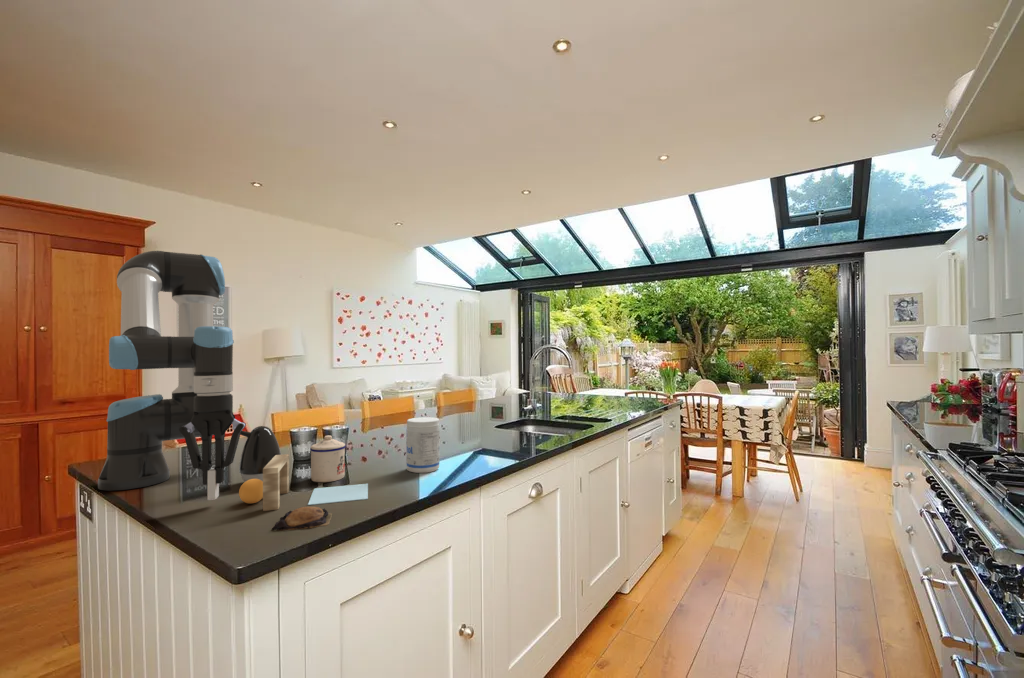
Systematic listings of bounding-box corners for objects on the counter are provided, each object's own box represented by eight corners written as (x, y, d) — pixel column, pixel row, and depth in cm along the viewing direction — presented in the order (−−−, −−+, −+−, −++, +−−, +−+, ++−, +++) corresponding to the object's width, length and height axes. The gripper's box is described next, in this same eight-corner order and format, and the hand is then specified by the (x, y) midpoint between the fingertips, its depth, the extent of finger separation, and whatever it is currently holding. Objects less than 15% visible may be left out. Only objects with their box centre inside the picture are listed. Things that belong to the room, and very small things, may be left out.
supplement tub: (401, 469, 137) (400, 419, 137) (430, 463, 142) (429, 416, 143) (415, 475, 129) (415, 422, 129) (445, 470, 135) (445, 419, 135)
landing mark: (314, 489, 117) (314, 488, 117) (367, 484, 121) (367, 483, 121) (307, 505, 105) (307, 504, 105) (367, 499, 109) (367, 498, 109)
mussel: (333, 515, 100) (333, 498, 100) (328, 530, 92) (328, 511, 92) (280, 520, 97) (280, 502, 98) (269, 535, 89) (269, 516, 89)
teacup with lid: (344, 481, 125) (344, 437, 125) (308, 484, 122) (308, 440, 122) (346, 470, 136) (346, 430, 136) (313, 473, 133) (313, 432, 134)
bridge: (262, 511, 101) (262, 468, 102) (275, 492, 115) (275, 455, 116) (277, 509, 102) (277, 467, 103) (288, 490, 116) (288, 454, 116)
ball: (273, 483, 111) (258, 504, 110) (252, 472, 110) (237, 492, 109) (268, 489, 106) (252, 510, 104) (246, 476, 105) (230, 498, 103)
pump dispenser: (241, 480, 127) (241, 424, 127) (283, 476, 131) (283, 422, 131) (235, 490, 117) (235, 430, 118) (281, 485, 121) (281, 427, 122)
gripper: (173, 396, 100) (172, 506, 99) (241, 394, 104) (241, 499, 103) (186, 393, 107) (186, 496, 107) (249, 391, 111) (249, 490, 111)
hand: (213, 498), depth 105 cm, fingers closed
